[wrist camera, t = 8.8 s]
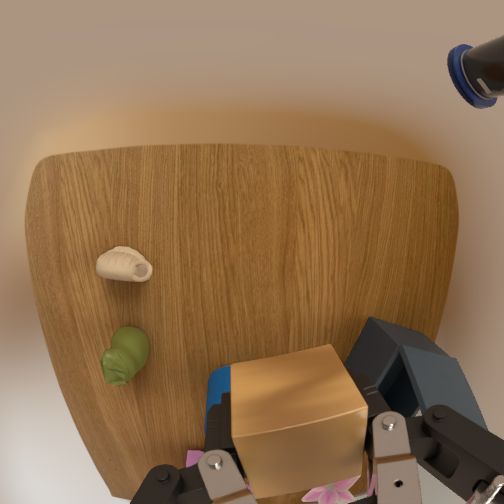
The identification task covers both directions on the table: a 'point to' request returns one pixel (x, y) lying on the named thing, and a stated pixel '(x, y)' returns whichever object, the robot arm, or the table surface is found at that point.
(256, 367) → the block
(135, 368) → the olive green lumpy piece
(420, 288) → the table surface
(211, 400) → the beverage can
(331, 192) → the table surface
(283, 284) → the table surface
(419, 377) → the lid
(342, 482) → the lily
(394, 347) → the chest
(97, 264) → the decorative ornament
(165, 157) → the table surface
